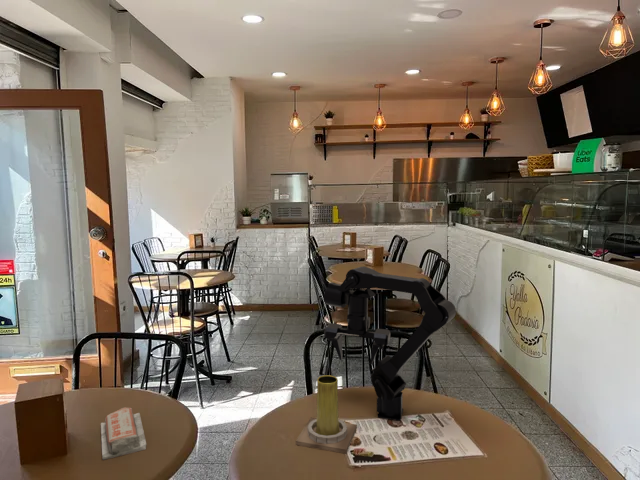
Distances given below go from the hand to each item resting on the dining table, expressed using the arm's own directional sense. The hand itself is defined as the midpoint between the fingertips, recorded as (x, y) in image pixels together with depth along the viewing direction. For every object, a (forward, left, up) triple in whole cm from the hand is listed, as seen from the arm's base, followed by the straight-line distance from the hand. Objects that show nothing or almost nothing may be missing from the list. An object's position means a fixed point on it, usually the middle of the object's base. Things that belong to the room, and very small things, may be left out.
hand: (356, 361), depth 129 cm
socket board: (+3, +19, -13) cm, 23 cm away
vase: (+3, +19, -12) cm, 23 cm away
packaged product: (+54, +35, -14) cm, 66 cm away
